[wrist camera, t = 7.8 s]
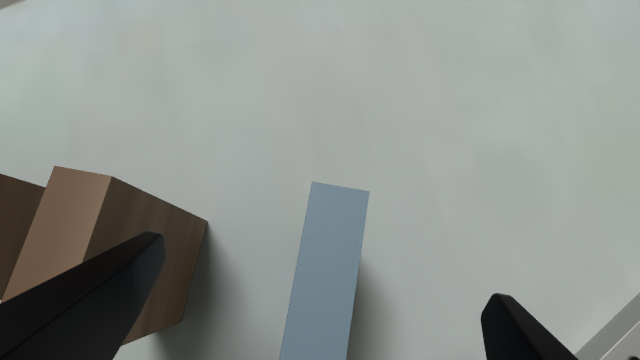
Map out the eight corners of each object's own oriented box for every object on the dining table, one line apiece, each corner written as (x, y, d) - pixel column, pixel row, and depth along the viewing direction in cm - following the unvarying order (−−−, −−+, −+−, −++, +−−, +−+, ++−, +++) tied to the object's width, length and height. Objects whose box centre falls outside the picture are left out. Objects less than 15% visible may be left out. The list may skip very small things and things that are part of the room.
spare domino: (340, 229, 18) (369, 191, 9) (325, 329, 17) (341, 393, 8) (310, 223, 18) (312, 181, 9) (293, 323, 17) (275, 381, 8)
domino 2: (207, 221, 18) (111, 175, 9) (181, 321, 17) (41, 378, 8) (177, 215, 18) (54, 166, 9) (149, 315, 17) (-24, 365, 8)
